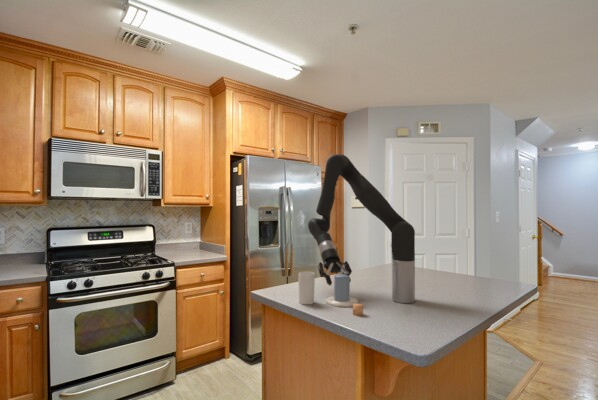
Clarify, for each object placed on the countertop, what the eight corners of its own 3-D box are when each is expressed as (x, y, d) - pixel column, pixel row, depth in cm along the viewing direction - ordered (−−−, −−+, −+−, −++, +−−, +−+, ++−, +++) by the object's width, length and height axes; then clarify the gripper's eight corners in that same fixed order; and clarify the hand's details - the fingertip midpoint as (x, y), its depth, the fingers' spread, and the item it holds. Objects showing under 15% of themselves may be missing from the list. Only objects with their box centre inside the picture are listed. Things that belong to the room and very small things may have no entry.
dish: (337, 296, 144) (337, 294, 144) (363, 302, 135) (363, 299, 136) (319, 302, 134) (319, 300, 134) (346, 309, 126) (346, 306, 126)
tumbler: (339, 297, 139) (339, 273, 139) (351, 299, 135) (351, 275, 136) (331, 299, 135) (331, 275, 135) (343, 302, 131) (344, 277, 131)
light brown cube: (356, 312, 122) (356, 302, 122) (364, 314, 120) (364, 304, 120) (351, 314, 119) (351, 304, 119) (359, 316, 117) (359, 306, 117)
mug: (316, 304, 132) (316, 274, 132) (299, 305, 130) (300, 275, 131) (310, 297, 141) (311, 270, 142) (295, 298, 140) (295, 270, 141)
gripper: (316, 248, 143) (327, 279, 132) (345, 247, 147) (358, 277, 136) (311, 258, 148) (321, 289, 136) (340, 257, 152) (351, 287, 141)
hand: (339, 283), depth 136 cm, fingers open, 8 cm apart
